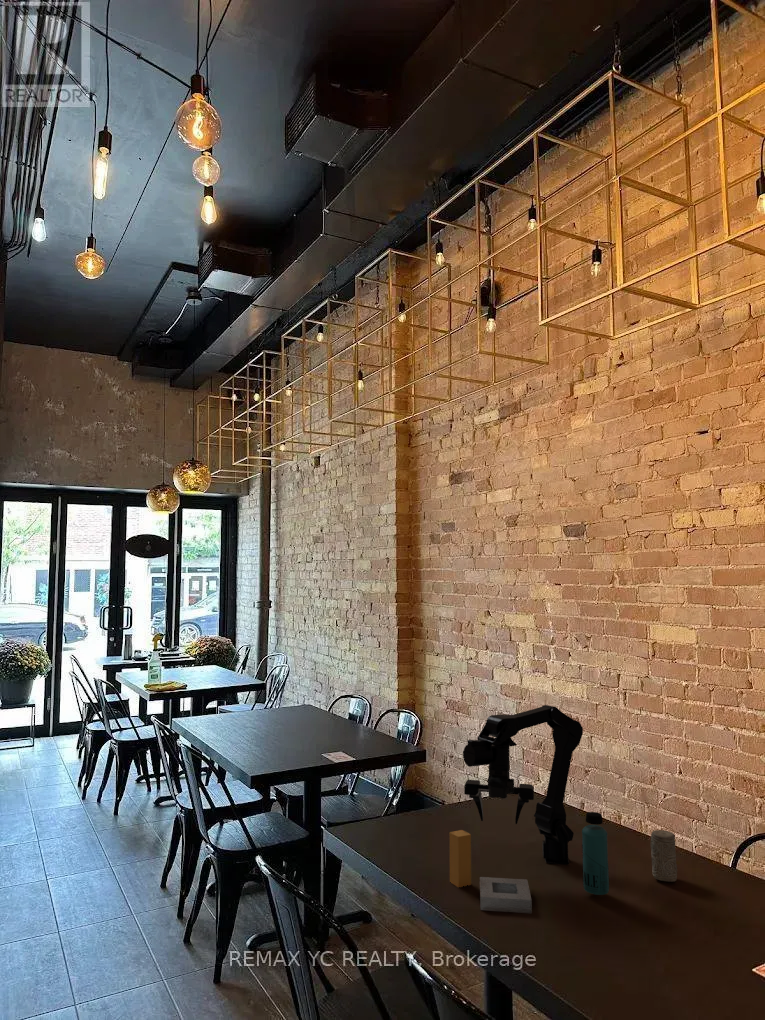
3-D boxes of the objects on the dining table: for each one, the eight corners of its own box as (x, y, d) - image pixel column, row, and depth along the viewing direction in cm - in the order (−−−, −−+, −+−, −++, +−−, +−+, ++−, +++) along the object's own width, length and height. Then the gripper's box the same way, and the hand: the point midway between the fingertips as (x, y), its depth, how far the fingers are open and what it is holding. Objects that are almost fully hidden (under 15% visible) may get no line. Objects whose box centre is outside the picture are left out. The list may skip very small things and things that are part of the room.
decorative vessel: (678, 876, 188) (676, 830, 189) (677, 887, 181) (675, 838, 182) (653, 872, 190) (651, 826, 192) (651, 882, 183) (649, 835, 185)
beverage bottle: (610, 892, 177) (607, 810, 180) (609, 903, 171) (607, 818, 173) (583, 889, 179) (581, 807, 182) (582, 899, 173) (580, 815, 175)
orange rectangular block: (462, 879, 185) (461, 829, 186) (471, 884, 181) (470, 834, 183) (449, 882, 183) (449, 832, 184) (458, 887, 180) (458, 836, 181)
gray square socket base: (527, 892, 177) (527, 879, 178) (531, 913, 165) (531, 900, 166) (479, 889, 179) (479, 876, 179) (480, 910, 167) (480, 896, 167)
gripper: (462, 767, 187) (461, 828, 185) (533, 772, 183) (533, 835, 181) (466, 758, 198) (466, 815, 196) (533, 763, 194) (534, 821, 192)
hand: (499, 822), depth 191 cm, fingers open, 9 cm apart
